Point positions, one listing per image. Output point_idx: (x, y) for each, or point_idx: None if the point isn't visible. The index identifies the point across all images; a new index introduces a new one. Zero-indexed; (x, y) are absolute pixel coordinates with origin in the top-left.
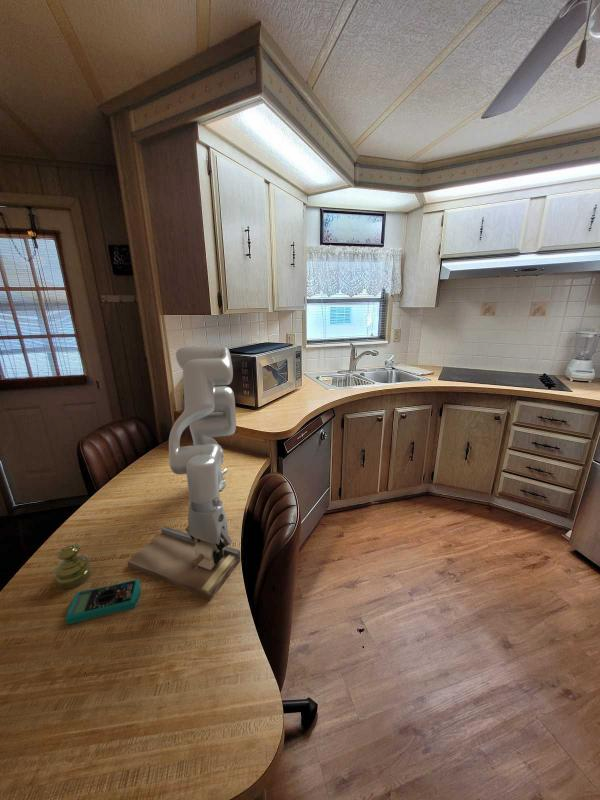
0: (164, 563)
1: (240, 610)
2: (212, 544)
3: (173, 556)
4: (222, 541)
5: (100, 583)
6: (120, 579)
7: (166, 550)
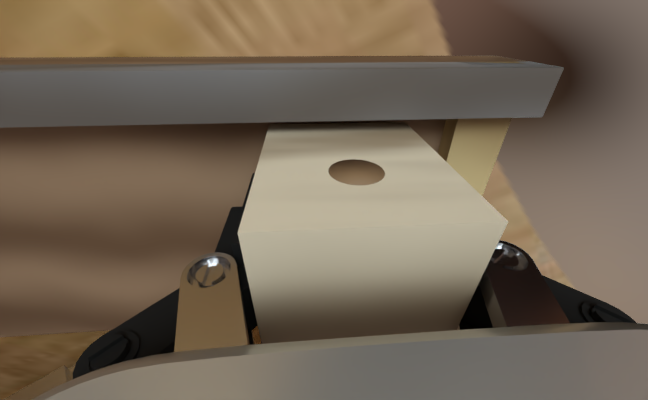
0: (122, 291)
1: (543, 270)
2: (425, 330)
3: (106, 249)
4: (547, 302)
5: (19, 364)
6: (51, 339)
7: (10, 235)
